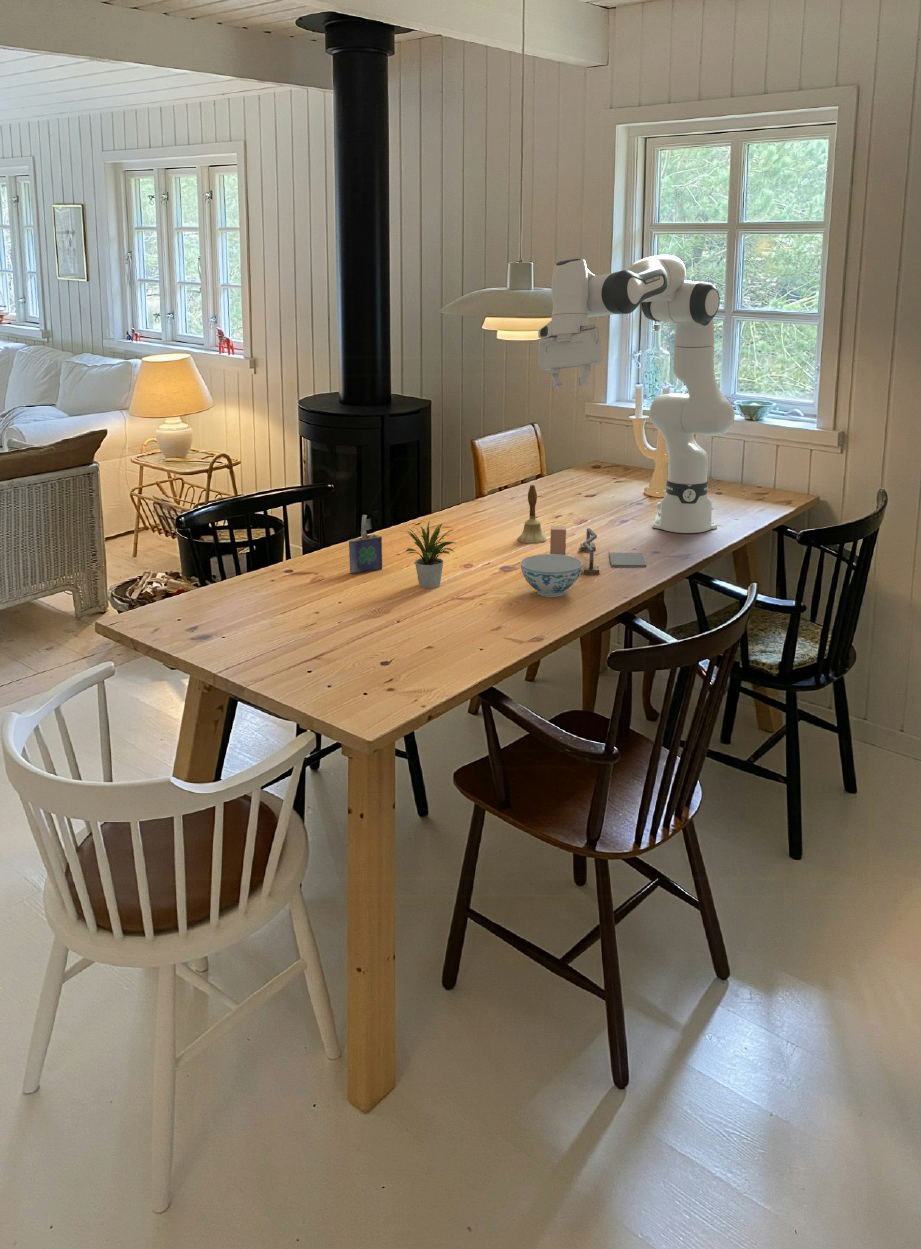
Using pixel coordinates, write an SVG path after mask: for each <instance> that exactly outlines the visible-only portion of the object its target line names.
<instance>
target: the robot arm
mask: <svg viewBox="0 0 921 1249" xmlns="http://www.w3.org/2000/svg"><path fill="white" fill-rule="evenodd" d="M686 275H687V272H686V266H685V264H684V262H683V261H682V260H681V259H680V258H679V257H677V256H675V255H671V254H670V255H669V254H660V255H659V254H658V255H653V256H648V257H645V258H642V259H640V260H637V261H635V262H634V263H632V264H631V265H629V267H628V268H627V270H626V269H623V270H620V271H615V272H610V273H605V274H599V275H596V274H594V273H592V272H591V271H590V270H589V269H588V267H587V262H586V260H585V259H583V258H572V259H565V260H560V261H558V262H556V263H555V264H554V266H553V271H552V277H551V290H550V291H551V301H552V311H551V320H550V321H549V322H548V323H546V324H545V325H544V326H543V327H541V328H540V329H539V330H538V331H537V334H538V336H537V337H538V338H539V339H540V340H539V342H538V347H537V348H538V351H537V352H538V353H537V357H538V367H539V368H540V370H541V371H542V370H543V371H544V370H545V371H549V376H550V378H551V380H552V388H553V389H559V388H563V380H562V379H561V378H560V376H559V374H560V370H562V369H571V368H580V371H581V373H580V377H578V378H577V381H578V382H577V385H578V386H583V387H584V386H588V383H589V382H588V380H589V379H588V378H589V377H590V373H591V371H592V366H596V365H600V364H602V361H603V345H602V338H601V334H600V329H599V328H598V326H597V325H595V324H590V325H589V318H596V317H603V316H611V315H628V314H631V313H633V312H634V311H635V310H636V309H637V308H638V307H639V306H640V308H641V311H642V314H643V315H644V317H645V318H646V319H648V320H651V321H654V322H657V323H658V322H664V323H670V324H671V323H673V324H676V326H675V331H674V332H675V333H674V342H673V343H674V344H673V373H674V375H675V378H676V379H678V380H679V381H681V382H682V383H683V384H684V385H685V387H686V389H687V392H688V394H687V393H677V392H672V393H664V394H659V395H657V396H656V397H654V399H653V401H652V403H651V405H650V408H649V418H650V421H651V423H652V425H653V426H654V427H655V428H656V429H657V430H658V431H659V432H660V434H661V435H662V438H663V440H664V442H665V445H666V448H667V453H668V475H667V477H668V478H667V480H666V484H665V496H663V498H662V499H661V501H658V502H657V503H656V504H657V507H656V508H657V510H658V511H659V512H658V513H656V516H655V519H654V521H653V523H652V528H654V529H659V530H664V531H667V532H671V533H679V534H697V533H704V532H707V531H709V530H714V529H717V528H718V524H716V523H715V522H714V521H713V520H712V518H713V517H712V515H713V513H712V512H713V511H712V510H713V501H712V500H711V498H709V497H708V493H709V492H708V491H709V481H708V467H709V466H708V465H709V464H708V463H709V457H708V453H707V451H706V450H705V449H704V448H703V447H701V446H700V445H699V444H698V443H697V442H696V439H695V435H699V436H700V435H701V436H707V437H710V436H720V435H721V436H722V435H725V434H727V433H728V432H729V431H730V429H731V428H732V426H733V424H734V421H735V418H736V417H735V413H736V412H735V408H734V406H733V405H732V403H731V401H729V400H728V399H727V397H726V396H724V394H723V393H722V391H721V390H720V387H719V386H718V383H717V379H716V376H715V362H714V361H715V325H714V324H715V323H714V318H715V316H716V314H718V311H719V309H720V303H721V302H720V300H721V299H720V297H721V296H720V294H719V291H718V289H717V288H716V286H715V285H714V284H713V283H710V282H707V281H694V280H693V281H692V280H686Z"/></svg>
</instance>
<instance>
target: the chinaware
mask: <svg viewBox="0 0 921 1249" xmlns="http://www.w3.org/2000/svg"><path fill="white" fill-rule="evenodd" d="M519 564H520V570H521V572H522V575H523V577H524V580H525V581H526V582H527V583H528V584H529V586H530V587H532V588H533V589H534V590H536V594H538V595H539V596H540V597H546V598H556V597H562V596H564V595H565V593H566V591H567V590H569V589H570V588H571V587H572V586H573V585H574V584H575V583H576V582H577V580H578V579H579V577H580V575H581V572H582V570H583V560H581V559H579V557H574V556H571V555H567V554H565V555H559V554H550V553H549V554H548V553H546V554H545V553H543V554H535V555H530V556H527V557H524V558H523V559H521V560H520V562H519Z"/></svg>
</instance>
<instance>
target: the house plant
mask: <svg viewBox="0 0 921 1249" xmlns="http://www.w3.org/2000/svg"><path fill="white" fill-rule="evenodd" d="M442 526H443V523H440V524H438V525H437V526H436V528H435V529H434V531H433V533H432V534H431V537H430V520H429V521H428V522H427V526H426V530H425V528H423V527H422V526H420V528H421V532H420V531H418V533H419V535H420V537H421V539H422V540H420V538H419V537H418V535H417V534H416V533H415V532H414V530H412V529H410V528H408V530H407V531H403V530H401V532H403V533H407V534H408V535H409V536H410V537H411V538H412V539H413V540H414V542H413V543H414V544H415V545H416V546H417V547H418V548H419V549H420V551H421V553H419V552H418V551H417V550H416V549H414V548H411V547H409V548H406V550H405V553H406V552H408V553H407V554H406V555H408V554H417V555H419V556H420V557H419V558H417V559H416V560H414V563H415V564H414V565H415V570H416V575H417V579H418V581H417V582H418V585H419V587H420V588H422V587H423V588H424V589H435V587H436V588H439V587H440V586H441V580H442V574H443V573H442V572H443V567H444V560H443V558H439V556H441V554H448V555H451V554H450V551H451V552H453V553H455V551H454V549H453V548H450V547H449V548H448V547H446V546H449V545H452V544H456V542H455V541H444V539H445V537H446V536H447V537H449V536H450V535H447V534H449V533H450V532H451V531H453V530H456V529H450V530H448V531H447V532H445V533H444V534H443V535H440V531H441V527H442ZM412 528H413V529H416V530H417V528H416V527H414V526H412ZM439 535H440V536H439ZM441 540H443V541H441ZM422 542H423V544H422ZM444 547H445V548H444Z"/></svg>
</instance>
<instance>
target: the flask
mask: <svg viewBox="0 0 921 1249" xmlns="http://www.w3.org/2000/svg"><path fill="white" fill-rule="evenodd" d="M360 536H361V537H357V538H351V539H349V541H348V548H349V549H348V551H349V552H348V553H349V554H348V555H349V574H351V575H359V574H358V573H360V574H365V573H370V572H375V571H376V572H377V571H381V570H383V541H382V540H383V537H382V536H381V535H378V534H368V533H367V531H366V530H362V531H361V535H360ZM369 571H370V572H369Z"/></svg>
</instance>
